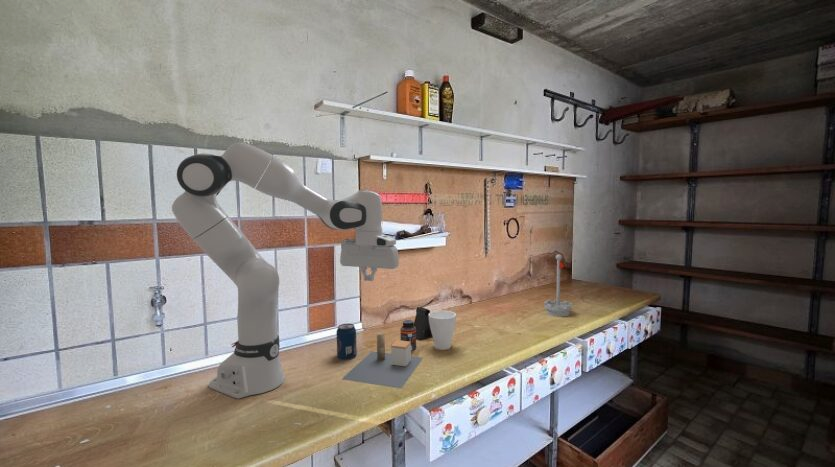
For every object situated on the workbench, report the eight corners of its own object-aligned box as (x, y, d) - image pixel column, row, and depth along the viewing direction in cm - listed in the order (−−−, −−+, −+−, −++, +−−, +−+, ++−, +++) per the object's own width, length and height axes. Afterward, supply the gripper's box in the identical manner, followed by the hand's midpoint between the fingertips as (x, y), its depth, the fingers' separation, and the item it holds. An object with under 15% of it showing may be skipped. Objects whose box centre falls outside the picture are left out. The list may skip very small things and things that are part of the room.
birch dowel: (375, 360, 124) (375, 335, 123) (379, 356, 127) (378, 332, 126) (383, 361, 123) (382, 335, 122) (386, 357, 126) (385, 333, 125)
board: (341, 382, 111) (341, 378, 111) (371, 354, 132) (371, 351, 131) (401, 391, 104) (401, 388, 104) (423, 360, 125) (423, 357, 125)
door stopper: (427, 331, 154) (427, 304, 154) (436, 335, 150) (435, 307, 149) (410, 336, 149) (410, 308, 148) (418, 340, 144) (418, 311, 143)
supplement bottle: (414, 354, 131) (414, 324, 130) (398, 353, 132) (398, 323, 131) (417, 347, 137) (417, 319, 136) (402, 346, 138) (402, 318, 137)
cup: (461, 350, 134) (461, 315, 133) (439, 356, 128) (438, 320, 127) (445, 341, 143) (445, 308, 142) (423, 347, 137) (423, 313, 136)
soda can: (335, 356, 130) (334, 324, 129) (354, 353, 132) (353, 321, 132) (339, 364, 123) (338, 330, 123) (358, 360, 126) (357, 327, 125)
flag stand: (539, 310, 184) (540, 253, 182) (563, 309, 186) (564, 252, 184) (551, 317, 171) (552, 256, 169) (577, 316, 173) (578, 255, 171)
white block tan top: (391, 364, 120) (391, 345, 119) (397, 358, 125) (396, 340, 124) (405, 366, 118) (405, 347, 118) (411, 360, 123) (410, 341, 123)
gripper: (336, 239, 118) (336, 280, 119) (393, 241, 112) (393, 284, 113) (345, 237, 124) (345, 276, 125) (400, 239, 118) (400, 280, 119)
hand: (368, 280), depth 119 cm, fingers closed
